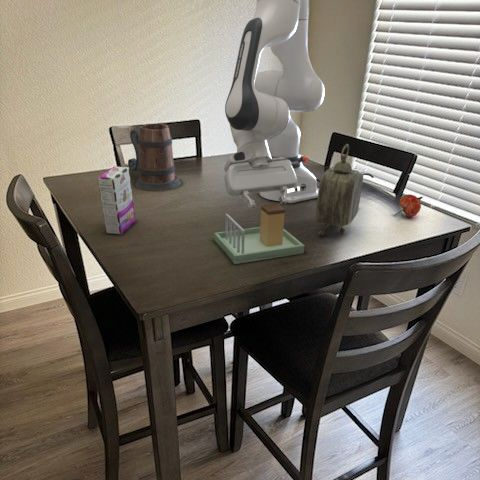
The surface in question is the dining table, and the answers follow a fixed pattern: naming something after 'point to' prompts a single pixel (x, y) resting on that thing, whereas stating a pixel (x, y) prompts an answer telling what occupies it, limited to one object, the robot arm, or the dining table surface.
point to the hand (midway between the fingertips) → (268, 205)
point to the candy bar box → (116, 199)
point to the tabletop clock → (339, 194)
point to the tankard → (153, 158)
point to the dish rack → (253, 244)
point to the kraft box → (272, 224)
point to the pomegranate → (410, 205)
